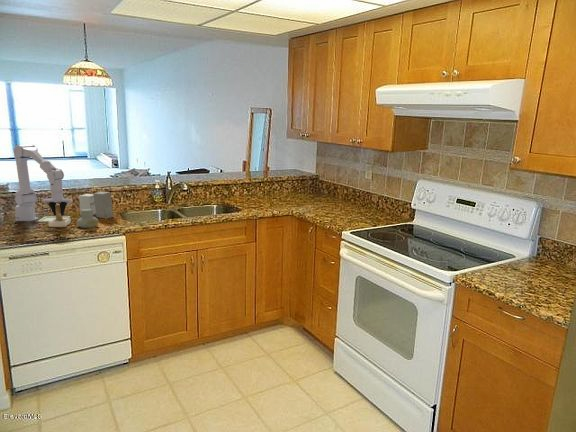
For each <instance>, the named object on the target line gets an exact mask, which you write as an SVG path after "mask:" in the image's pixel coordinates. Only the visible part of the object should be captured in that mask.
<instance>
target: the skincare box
mask: <svg viewBox="0 0 576 432" xmlns="http://www.w3.org/2000/svg"><path fill="white" fill-rule="evenodd" d="M93 196H94V203H95V210H96V214H95V215H96V216H95V217H96V218H101V219H104V220H107V219H111V218H114V209H113V201H112V194H111V192H109V191H102V190H101V191H97V192H93Z"/></svg>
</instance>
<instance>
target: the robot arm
mask: <svg viewBox="0 0 576 432" xmlns="http://www.w3.org/2000/svg"><path fill="white" fill-rule="evenodd" d="M12 150H13V156H14V159H15V165H16V171H17V178H18V179H17V180H18V186H19V189H18V190H17V191H16V192H15V197H14V201H15V203H16V205H15V207H14V212H15V213H14V216H15V222H31V221H35V220H37V219H38V218H39V217H38V216H37V217H36V212H35V211H36V210H35V209H36V208H35V205H36V203H37V201H38V196H37V194H36V191H35V190H34V189H32V188H31V182H30V175H29V167H28V161H29V159H33V161H35V162H36V163H37V164H39V168H40V169H41V170H42V171H43V172H44V173H45V174H46V177H47V180H48V182H49V184H50V194H51V198H43V199H42V202H43V204H46V203H47V204H48V206H49V208H50V209H51V211H52V214H53V216H56V212H55V205H57V203H59V204H60V208H61V216H65V210H66V207H67V205H68V203H69V204H72V203H73V198H65V197H64V190H63V189H64V188H63V179H64V177H65V173H64V171H63V170H62V169H60V168H58V167H57V168H56V166H55V165H53V163H51V161H50V160H46V159H45V158H44V157H43V156H42V155H41V154H40V153H39V151H38V148H37V146H35V144H21V145H19V144H17V145H15V146H14V148H13V149H12Z"/></svg>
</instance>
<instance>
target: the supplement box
mask: <svg viewBox="0 0 576 432" xmlns="http://www.w3.org/2000/svg"><path fill="white" fill-rule="evenodd" d="M78 198H79V199H78V201H79V202H78V203H79V213H80V214H79V216H81V210H82V209H92V211H93V216H95V215H96V210H95V203H94V196H93V194H92V193H85V194H80V195H78Z"/></svg>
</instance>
